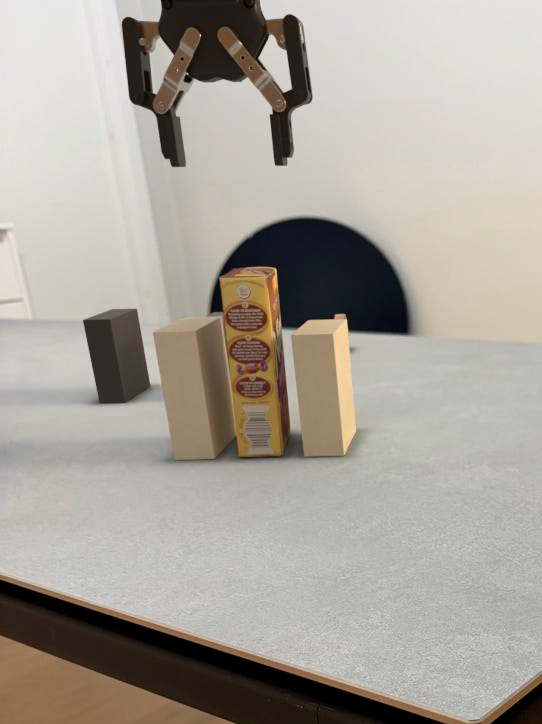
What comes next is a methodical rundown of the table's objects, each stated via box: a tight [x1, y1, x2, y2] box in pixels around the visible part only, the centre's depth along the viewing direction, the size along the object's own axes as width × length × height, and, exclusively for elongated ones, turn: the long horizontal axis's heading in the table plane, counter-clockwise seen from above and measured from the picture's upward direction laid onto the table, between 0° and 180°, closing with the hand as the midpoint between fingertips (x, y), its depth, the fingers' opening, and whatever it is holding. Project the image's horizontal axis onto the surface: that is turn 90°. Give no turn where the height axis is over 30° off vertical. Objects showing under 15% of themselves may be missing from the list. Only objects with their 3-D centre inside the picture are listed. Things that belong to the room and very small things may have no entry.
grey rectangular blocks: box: [82, 308, 230, 404], centre depth 109 cm, size 15×9×9 cm, turn 90°
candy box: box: [218, 266, 292, 458], centre depth 85 cm, size 9×4×15 cm, turn 5°
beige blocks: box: [152, 316, 357, 461], centre depth 86 cm, size 15×9×11 cm, turn 90°
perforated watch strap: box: [333, 313, 350, 337], centre depth 134 cm, size 3×5×5 cm, turn 0°
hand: (230, 166), depth 79 cm, fingers open, 8 cm apart
